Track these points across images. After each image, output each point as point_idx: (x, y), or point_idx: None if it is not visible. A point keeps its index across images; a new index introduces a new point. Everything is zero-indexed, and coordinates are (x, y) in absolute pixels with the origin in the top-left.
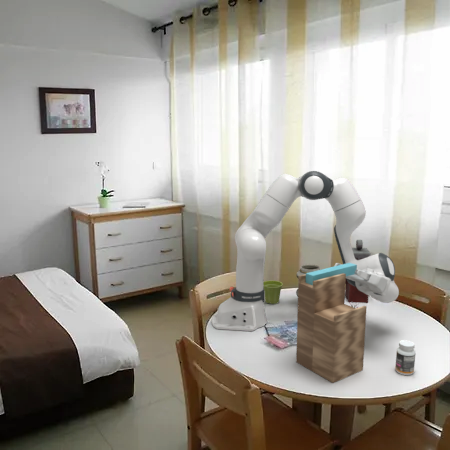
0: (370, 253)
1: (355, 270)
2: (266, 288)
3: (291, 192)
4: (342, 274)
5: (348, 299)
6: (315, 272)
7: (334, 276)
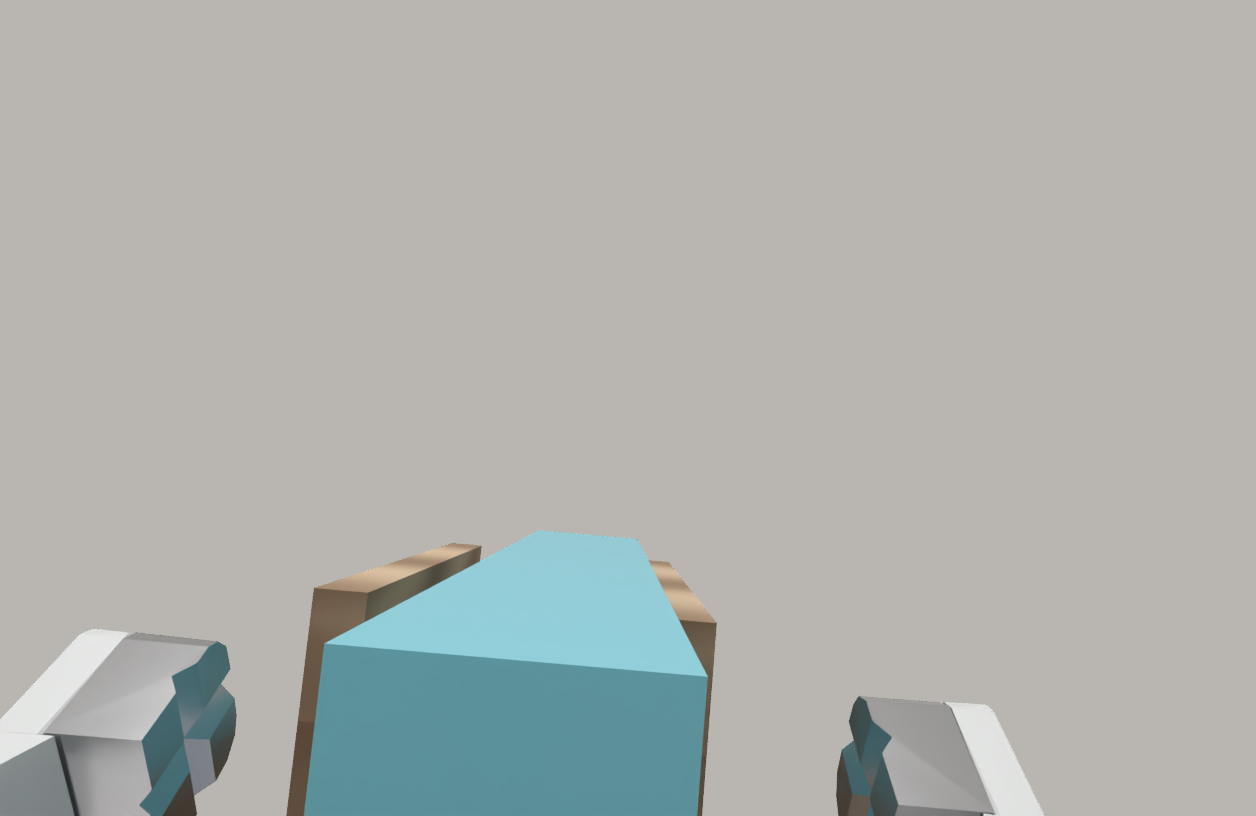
0: None
1: (226, 665)
2: None
3: None
4: (347, 580)
5: None
6: (600, 542)
7: (396, 565)
